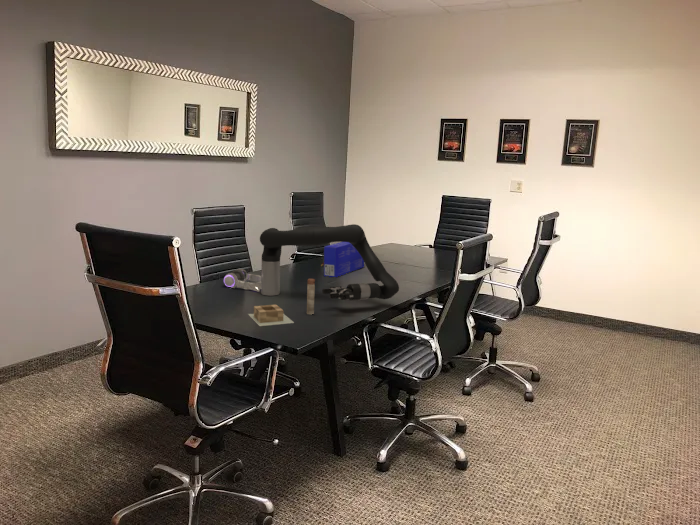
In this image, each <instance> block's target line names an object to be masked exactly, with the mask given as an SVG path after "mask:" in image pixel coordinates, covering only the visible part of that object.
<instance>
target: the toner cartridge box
mask: <svg viewBox="0 0 700 525" xmlns="http://www.w3.org/2000/svg"><path fill="white" fill-rule="evenodd" d="M323 262H324V266H323V277H326V276H329V277H328V278H332V277H336V278H339V277H341V275H342V276H344V275H347V274H349V272H350V273H353V272H354V271H357V270H360V269H363V268H365V262H364V260H363V258H362V257H361V255H360V254H359V252H358V251H357V250H356V249H355V247H354V246H353V245H352V244H351V243H349V242H335V243H332V244H329V245H325V246H323ZM352 271H353V272H352ZM346 273H347V274H346ZM338 276H339V277H338Z"/></svg>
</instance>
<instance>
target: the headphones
mask: <svg viewBox="0 0 700 525" xmlns="http://www.w3.org/2000/svg"><path fill="white" fill-rule="evenodd" d="M245 275H246V276H245ZM249 281H251V282H249ZM223 284H224V285H225V286H226V287H227V288H228V287H231V288H233V289H235V288H238V289H239V288H240V289H243V290H246V291H253V292H254V291H255V292H258V293H261V274H253V273H248V272H247V271H246V270H245V269H243V268H238V269H234V270H232V271H231V272H229V273H226V275H225V276H224V277H223ZM231 288H230V289H231Z"/></svg>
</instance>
